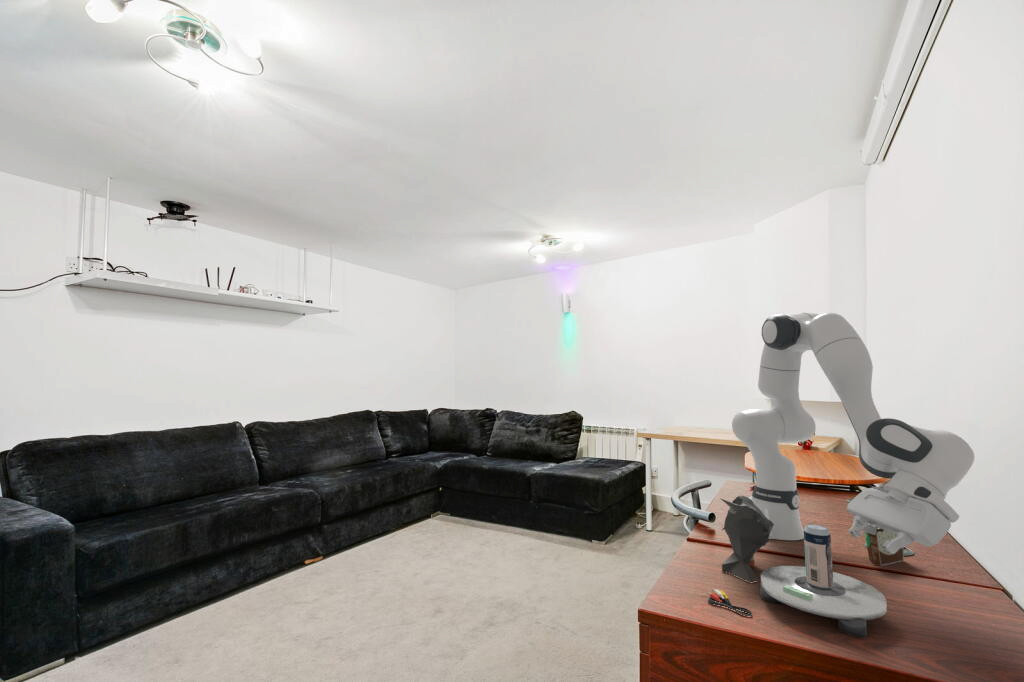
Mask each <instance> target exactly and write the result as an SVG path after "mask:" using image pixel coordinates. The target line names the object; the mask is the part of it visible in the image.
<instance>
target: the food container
mask: <svg viewBox="0 0 1024 682" xmlns="http://www.w3.org/2000/svg"><path fill="white" fill-rule="evenodd" d="M861 531H862V532H863V531H864V536H865V542H866V550H867V554H868V555H867V556H868V560H869V561H870V562H871V563H872V562H873V563H872V564H874V563H875V564H874V565H876V564H877V565H876V566H879V565H880V566H879V567H884V566H887V565H893V564H897V562H898V563H901V561H902V562H904V560H905V559H904V558H905V555H904V553H905V552H904V551H905V550H904V549H905V547H903V548H899V549H898V551H897V552H896V553H895V554H892V553H890V552H888V551H886V550H885V549H884V548H883V547H882V545H883V544H884V543H885V541H886V540H889V541H891V540H893V539H894V538H896V537H898V535H896V534H894V533H891V532H889V531H886V530H884V529H881V528H879V527H876V526H873V525H871V524H867V525H866V526H863V527H862V530H861ZM883 565H884V566H883Z"/></svg>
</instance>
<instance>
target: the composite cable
mask: <svg viewBox="0 0 1024 682" xmlns="http://www.w3.org/2000/svg"><path fill="white" fill-rule="evenodd" d="M711 589H712V591H713V592H709V591H706V594H707V595H708V598H707V600H708V601H707V603H708V602H709V603H708V604H710V603H711V604H710V605H712V604H715V605H720V606H725V607H728V608H730V609H733V610H735V611H736V612H738V613H740V614H742V615H745V616H752V617H753V611H751V610H749V609H748V608H745V607H741V606H737V605H733V604H732V603H731V600H730V599H729V597H728V594H726V592H724V591H723V590H720V589H716V588H711ZM715 601H716V602H715ZM719 602H720V603H719ZM715 605H714V606H715ZM736 609H738V610H741V611H744V612H747V613H749V614H746V613H743V612H740V611H738V610H736Z"/></svg>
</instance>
